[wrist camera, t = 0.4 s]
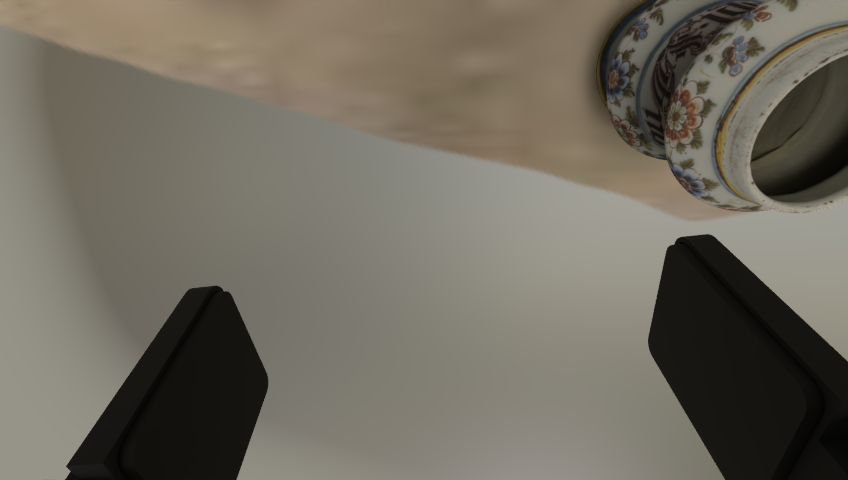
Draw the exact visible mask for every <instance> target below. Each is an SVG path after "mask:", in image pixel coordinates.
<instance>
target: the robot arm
mask: <svg viewBox="0 0 848 480" xmlns="http://www.w3.org/2000/svg"><path fill="white" fill-rule="evenodd" d="M648 344H649V350H650V352H651V355H652V357H653V358H654V360H655V362H656V363H657V365H658V367H659V369H660V370H661V372H662V374H663V375H664V377H665V378H666V380H667V382H668V384H669V385H670V387H671V389H672V390H673V392H674V394H675V396H676V397H677V399H678V401H679V402H680V404H681V406H682V407H683V409H684V411H685V413H686V414H687V416H688V418H689V419H690V421H691V423H692V424H693V426H694V428H695V429H696V431H697V433H698V434H699V436H700V438H701V440H702V441H703V443H704V445H705V446H706V448H707V449H708V451H709V453H710V455H711V456H712V458H713V460H714V462H715V463H716V465H717V466H718V468H719V470H720V472H721V473H722V475H723V476H724V478H725V480H848V362H847V360H845V359H844V358H843V357H842V356H841V355H840V354H839V353H838V352H837V351H836V350H835V349H834V348H833V347H832V346H830V345H829V344H828V343H827V342H826V341H825V340H824V339H823V338H822V337H821V336H820V335H819V334H818V333H817V332H816V331H814V330H813V329H812V328H811V327H810V326H809V325H808V324H807V323H806V322H805V321H804V320H803V319H802V318H801V317H799V316H798V315H797V314H796V313H795V312H794V311H793V310H792V309H791V308H790V307H789V306H788V305H787V304H786V303H784V302H783V301H782V300H781V299H780V298H779V297H778V296H777V295H776V294H775V293H774V292H773V291H772V290H771V289H769V287H767V286H766V285H765V284H764V283H763V282H762V281H761V280H760V279H759V278H758V277H757V276H756V275H755V274H754V273H752V272H751V271H750V270H749V269H748V268H747V267H746V266H745V265H744V264H743V263H742V262H741V261H740V260H739V259H738V258H736V257H735V256H734V255H733V254H732V253H731V252H730V251H729V250H728V249H727V248H726V247H725V246H724V245H723V244H722V243H720V242H719V241H718V240H717V239H716V238H715V237H714V236H712V235H708V234H706V235H697V236H687V237H680V238H678V239H677V240H676V242H675V244H674V245H671V246H669V247H668V248H667V251H666V256H665V261H664V265H663V270H662V275H661V280H660V284H659V290H658V294H657V299H656V304H655V308H654V313H653V318H652V323H651V327H650V333H649V338H648ZM267 389H268V376H267V373H266V371H265V369H264V366H263V364H262V362H261V360H260V357H259V355H258V353H257V351H256V348H255V346H254V344H253V342H252V340H251V337H250V335H249V333H248V331H247V329H246V326H245V324H244V322H243V320H242V317H241V315H240V313H239V311H238V308H237V306H236V304H235V302H234V300H233V297H232V296H231V294H230V293H229V292H226V291H225V292H224V291H223V289H222V288H221V287H219V286H210V287H200V288H192V289H189V290H188V291H187V292H186V293H185V295H184V296H183V298H182V299H181V301H180V302H179V303H178V305H177V306H176V308H175V309H174V311H173V312H172V314H171V315H170V316H169V318H168V319H167V321H166V322H165V324H164V325H163V327H162V328H161V330H160V331H159V332H158V334H157V335H156V337H155V339H154V340H153V341H152V343H151V344H150V346H149V347H148V348H147V350H146V351H145V353H144V354H143V356H142V357H141V359H140V360H139V361H138V363H137V364H136V366H135V368H134V369H133V370H132V372H131V373H130V375H129V376H128V377H127V379H126V380H125V382H124V383H123V385H122V386H121V388H120V389H119V390H118V392H117V394H116V395H115V396H114V398H113V399H112V401H111V402H110V404H109V405H108V406H107V408H106V409H105V411H104V412H103V414H102V415H101V417H100V418H99V420H98V421H97V422H96V424H95V425H94V427H93V428H92V430H91V431H90V433H89V434H88V435H87V437H86V438H85V440H84V441H83V443H82V444H81V446H80V447H79V449H78V450H77V451H76V453H75V454H74V456H73V457H72V459H71V460H70V462H69V463H68V464H67V466H66V467H67V468H68V469H69V470H70V471H71V472H70V473H69V475H68V476H67V478H66V479H65V480H236V479H237V476H238V474H239V471H240V468H241V465H242V462H243V459H244V456H245V453H246V450H247V448H248V445H249V442H250V439H251V436H252V433H253V430H254V427H255V424H256V422H257V419H258V416H259V413H260V410H261V407H262V404H263V401H264V398H265V395H266V392H267Z"/></svg>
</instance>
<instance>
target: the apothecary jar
mask: <svg viewBox="0 0 848 480" xmlns="http://www.w3.org/2000/svg"><path fill="white" fill-rule="evenodd" d="M597 84H598V89H599V93H600V95H601V98H602V100H603V102H604V103H605V105H606V106H607V108H608V110H609V114H610V118H611V120H612V123H613V125H614V127H615V129H616V130H617V132H618V134H619V135H620V136H621V138H622V139H623V140H624V141H625V142H626V143H628V144H629V145H630V146H631V147H633V148H634V149H636V150H637V151H639V152H641V153H643V154H645V155H648V156H650V157H654V158H657V159H663V160H667V161H668V163H669V166H670V168H671V170H672V172H673V174H674V176H675V177H676V179H677V180H678V182H679V183H680V184H681V185H682V186H683V187H684V188H685V189H686V190H687V191H688V192H689V193H690V194H692V195H693V196H694V197H696V198H697V199H699V200H701V201H703V202H705V203H707V204H709V205H712V206H714V207H718V208H722V209H726V210H732V211H745V212H751V211H764V210H771V209H773V210H777V211H780V212H787V213H804V212H812V211H817V210H821V209H825V208H829V207H832V206H835V205H838V204H840V203H843V202H845V201H847V200H848V0H643V1H641V2H640V3H638V4H637V5H635V6H634V7H632V8H631V9H630V10H629V11H628V12H627V13H625V14H624V15H623V16H622V17H621V19H620V20H619V21H618V22H617V23H616V24H615V25H614V27H613V28H612V29H611V31H610V33H609V34H608V36H607V38H606V40H605V42H604V44H603V47H602V49H601V52H600V55H599V59H598V64H597Z"/></svg>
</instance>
